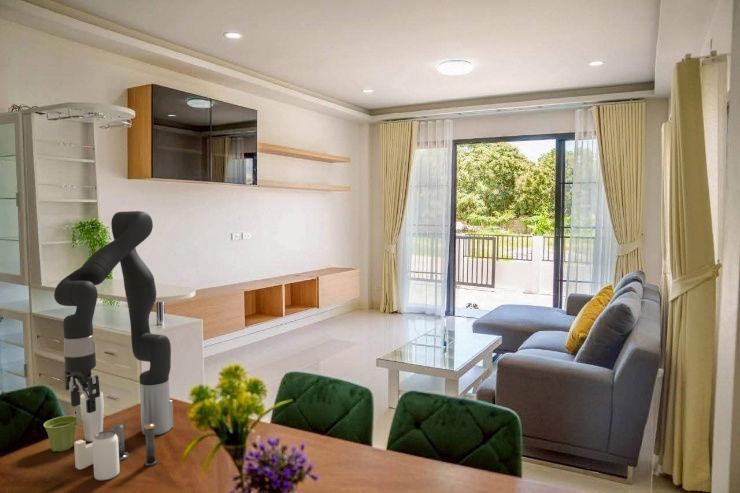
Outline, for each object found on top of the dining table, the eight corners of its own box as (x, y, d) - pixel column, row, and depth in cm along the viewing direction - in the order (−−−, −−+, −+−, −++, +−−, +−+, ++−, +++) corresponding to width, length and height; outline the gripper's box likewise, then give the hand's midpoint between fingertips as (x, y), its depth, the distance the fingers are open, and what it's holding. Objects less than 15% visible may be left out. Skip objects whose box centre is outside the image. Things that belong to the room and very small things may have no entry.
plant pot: (41, 448, 166) (39, 421, 165) (73, 438, 172) (72, 413, 172) (50, 457, 159) (48, 430, 159) (83, 447, 166) (82, 420, 165)
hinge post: (122, 452, 162) (121, 421, 161) (132, 456, 159) (130, 424, 159) (107, 458, 158) (105, 426, 157) (116, 463, 155) (114, 430, 154)
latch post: (152, 459, 157) (151, 421, 156) (160, 462, 155) (158, 424, 154) (141, 464, 154) (140, 425, 153) (149, 467, 152) (147, 428, 151)
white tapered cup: (95, 443, 168) (93, 398, 167) (77, 442, 170) (74, 397, 168) (110, 435, 175) (107, 391, 174) (92, 433, 176) (90, 390, 175)
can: (94, 483, 144) (91, 441, 143) (94, 473, 150) (92, 432, 149) (120, 477, 147) (118, 436, 146) (119, 467, 153) (117, 427, 152)
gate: (110, 452, 158) (109, 428, 157) (115, 454, 156) (114, 430, 156) (75, 467, 149) (74, 442, 148) (79, 469, 147) (78, 444, 147)
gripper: (106, 352, 143) (110, 409, 145) (80, 345, 151) (84, 399, 153) (78, 359, 137) (82, 419, 138) (53, 351, 145) (57, 407, 147)
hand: (83, 408), depth 146 cm, fingers open, 8 cm apart
